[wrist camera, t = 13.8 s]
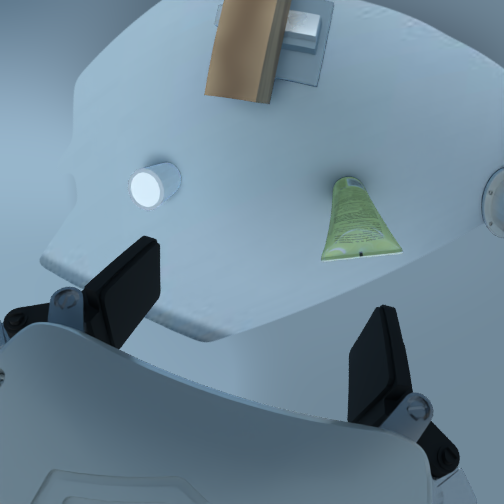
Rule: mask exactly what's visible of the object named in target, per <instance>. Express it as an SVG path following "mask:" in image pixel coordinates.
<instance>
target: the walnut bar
mask: <svg viewBox="0 0 504 504" xmlns="http://www.w3.org/2000/svg"><path fill="white" fill-rule="evenodd" d="M291 1H292V0H224V3H223V7H222V11H221V15H220V19H219V23H218V28H217V32H216V37H215V42H214V46H213V51H212V56H211V61H210V66H209V72H208V77H207V83H206V88H205V94H204V95H209V96H218V97H225V98H232V99H239V100H245V101H251V102H258V103H266V104H270V99H271V94H272V89H273V85H274V80H275V75H276V70H277V65H278V61H279V56H280V51H281V47H282V42H283V37H284V33H285V28H286V23H287V19H288V14H289V10H290V5H291Z"/></svg>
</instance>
